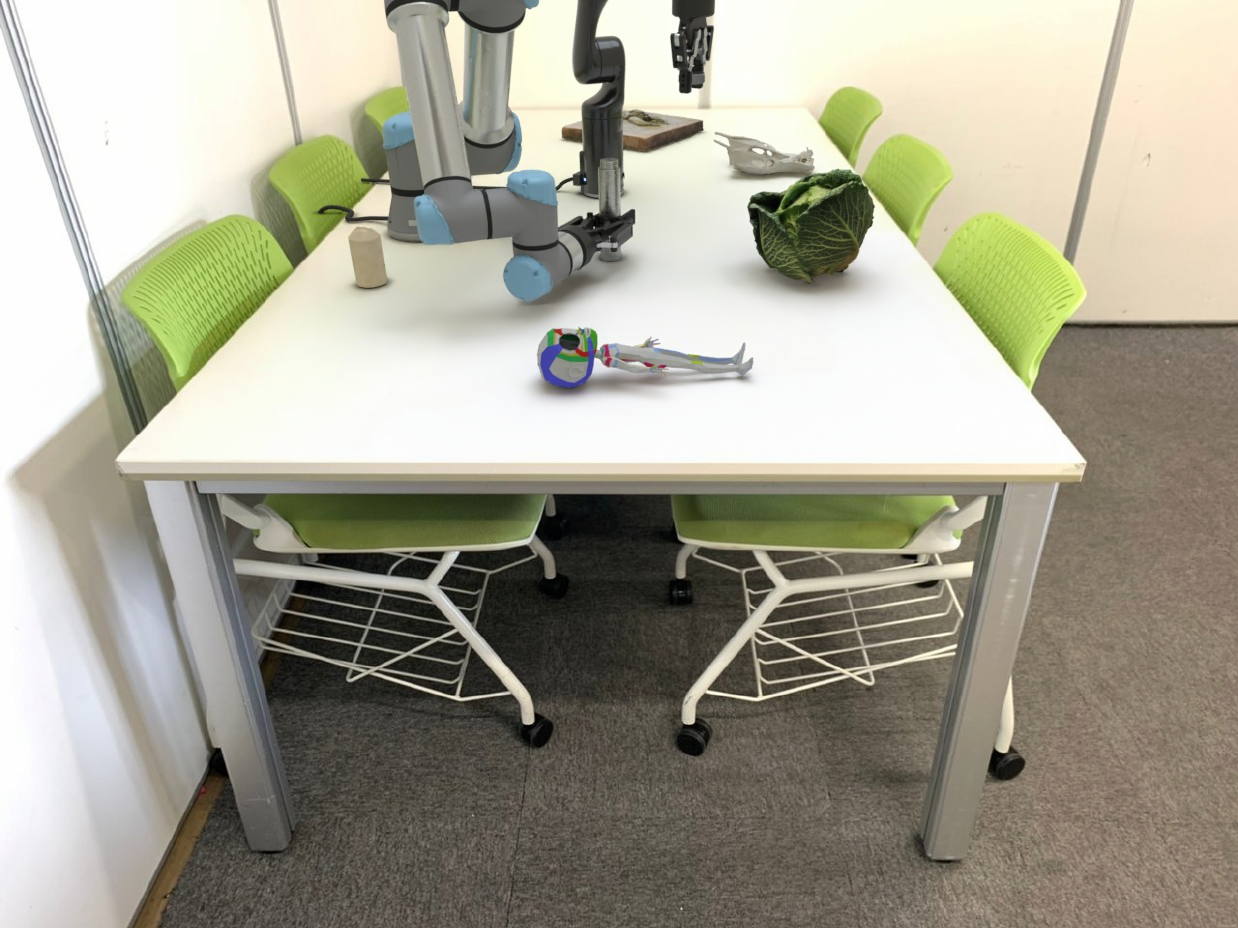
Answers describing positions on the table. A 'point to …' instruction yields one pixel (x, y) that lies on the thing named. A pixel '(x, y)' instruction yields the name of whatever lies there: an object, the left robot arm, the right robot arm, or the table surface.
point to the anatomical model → (764, 157)
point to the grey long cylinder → (609, 200)
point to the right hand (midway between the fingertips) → (691, 90)
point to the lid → (697, 77)
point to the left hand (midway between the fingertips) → (622, 214)
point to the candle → (367, 257)
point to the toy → (618, 358)
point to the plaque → (645, 129)
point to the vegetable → (812, 224)
